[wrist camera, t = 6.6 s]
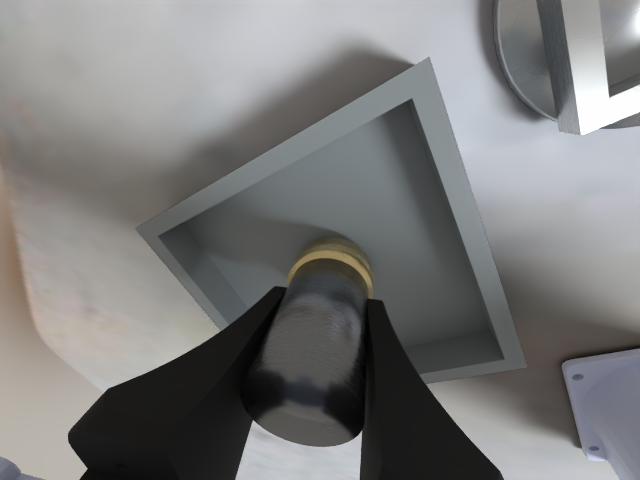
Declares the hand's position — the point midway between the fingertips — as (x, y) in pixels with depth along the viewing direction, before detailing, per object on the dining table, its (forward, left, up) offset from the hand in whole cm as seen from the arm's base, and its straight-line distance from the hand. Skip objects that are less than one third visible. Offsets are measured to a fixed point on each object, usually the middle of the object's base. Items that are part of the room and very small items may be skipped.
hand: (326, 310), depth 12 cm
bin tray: (0, 0, -3) cm, 3 cm away
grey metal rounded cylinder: (+1, 0, -2) cm, 2 cm away
